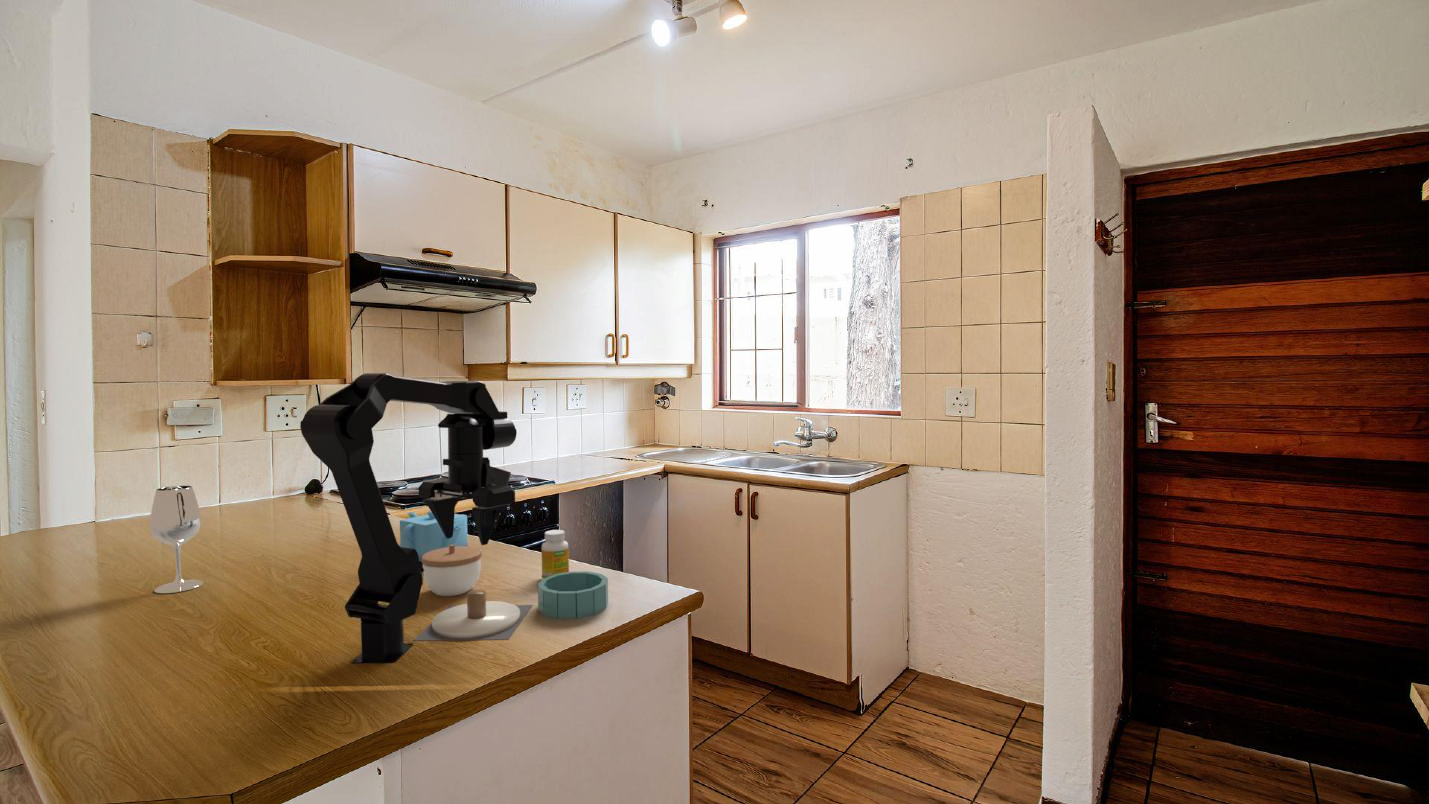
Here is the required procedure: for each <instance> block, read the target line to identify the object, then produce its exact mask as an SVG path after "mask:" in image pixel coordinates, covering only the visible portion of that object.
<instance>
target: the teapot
mask: <svg viewBox="0 0 1429 804" xmlns="http://www.w3.org/2000/svg"><path fill="white" fill-rule="evenodd" d="M406 513H407V515H408V516H409V518H405V519H401V520H399V542H400V545H399V546H400V547H404V548H412V549H415V550H416V551H417V553H418V557H419V562H420V563H422V556H423V555H424V554H425V553H427V552H430V551H433V550H436V549H440V548H446V547H449V545H452V544H454V545H455V546H469V545H468V544H469V543H468V542H469V541H468V539H469V537H468V515H467V514H458V513H454V530H453V537H452V538H446V537H445V535H444V533H443V531H442V530H441V528H440V526H439V524H438V522H437V520H436V519H435V517H434V515H433V514H432V512H431V510H429V511H427V514H423V515H417V514H416V513H415V512H412V511H408V512H406Z"/></svg>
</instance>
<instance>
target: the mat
mask: <svg viewBox="0 0 1429 804" xmlns="http://www.w3.org/2000/svg"><path fill="white" fill-rule="evenodd" d="M514 605H515V606H517V607H518V608H519V609H520V619H519V621H518V622H517V623H516V624H515V625H514V626H512V627H510V628H508V629H506V630H504V631H501V632H499V633H495V634H492V635H488V636H483V637H476V638H463V639H459V638H447V637H443V636H440V635H437V634H436V633H434V632H433V630H432V622H431V623H430V624H428V626H426V627H425V629H424V630H422V631H421V632H420V633H419V635H417V636H416V637H415V638H414V639H413V640H412V641H413V642H431V641H432V642H433V641H434V642H435V641H437V642H438V641H439V642H440V641H441V642H442V641H447V642H448V641H500V640H501V641H505V640H506V641H508V640H510V639H511V637H512V636H513V634H514V633H515V631H516V630H517V628H518V627H519V626H520V625H521V623H522V622H523V619H525V617H526V616H527V614H528V613H529V611H530V610H531V609H532V607H533V604H514ZM455 606H456V605H449V606H448V607H447V608H445V609H444V610H443V611H445V610H447V609H449V608H452V607H455Z"/></svg>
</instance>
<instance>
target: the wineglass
mask: <svg viewBox="0 0 1429 804" xmlns="http://www.w3.org/2000/svg"><path fill="white" fill-rule="evenodd" d="M201 525H202V518H201V510H200V507H199V503H198V500H197V497H196V494H195V490H194V488H193V486H192V485H173V486H172V485H171V486H165V487H160V488H156V490H155V493H154V497H153V501H152V507H151V513H150V521H149V527H150V532H151V534H152V536H153V538H155V539H156V540H157V541H158V542H160V543H162V544H165V545H167V546H172V547H173V551H174V555H175V573H176V574H175V579H174V580H173V581H172V582H169V583H165V584H161V585H160V586H157V587H156V588H154V591H153V592H155V593H157V594H167V595H168V594H176V593H177V594H178V593H183V592H186V591H190V590H194V589H196V588H198V587H201V586H203V584H204V581H203V580H200V579H186V580H185V579H184V578H183V577H182V570H181V548H182V546H183V544H186V543H187V542H189V541H190V540H192V539H193V538H194V537H195V536H196V535H197V533H198V532H199V531H200V529H201Z"/></svg>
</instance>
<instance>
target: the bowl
mask: <svg viewBox="0 0 1429 804" xmlns="http://www.w3.org/2000/svg"><path fill="white" fill-rule="evenodd" d="M537 598H538V599H537V603H538V606H537V607H538V608H537V609H538V611H539V612H540V613H541V614H542V615H543V616H544V617H549V618H553V619H559V620H560V619H561V620H562V619H567V620H570V619H580V618H584V617H591V616H594V615H596V614H598V613H600V612H602V611H604V610H606V609H607V606H608V604H609V578H608V577H606V576H605V575H604V574H602V573H598V572H593V571H581V570H580V571H569V572H566V573H560V574H555V575H552V576H549V577H547V578H544V579H540V582H539V583H538V584H537Z"/></svg>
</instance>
